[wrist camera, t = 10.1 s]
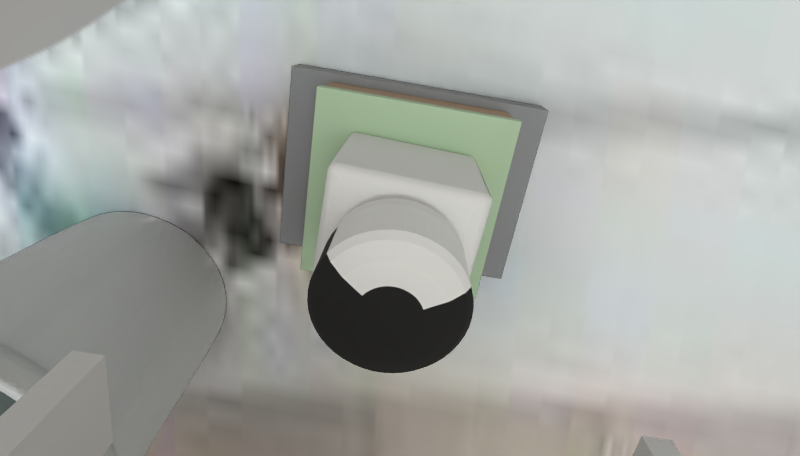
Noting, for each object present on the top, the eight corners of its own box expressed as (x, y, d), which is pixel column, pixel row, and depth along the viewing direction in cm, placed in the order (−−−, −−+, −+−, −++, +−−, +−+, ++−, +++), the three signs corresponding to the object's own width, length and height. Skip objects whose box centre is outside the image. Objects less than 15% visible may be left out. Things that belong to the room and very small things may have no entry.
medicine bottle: (446, 266, 29) (462, 413, 18) (332, 244, 29) (277, 378, 17) (476, 156, 26) (518, 246, 15) (350, 129, 26) (299, 202, 15)
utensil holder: (124, 160, 33) (-154, 279, 17) (275, 299, 37) (165, 502, 21) (15, 275, 37) (-292, 460, 21) (161, 390, 41) (-4, 618, 25)
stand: (287, 231, 35) (262, 268, 29) (299, 63, 30) (272, 71, 25) (496, 265, 35) (511, 309, 30) (540, 105, 31) (567, 122, 25)
